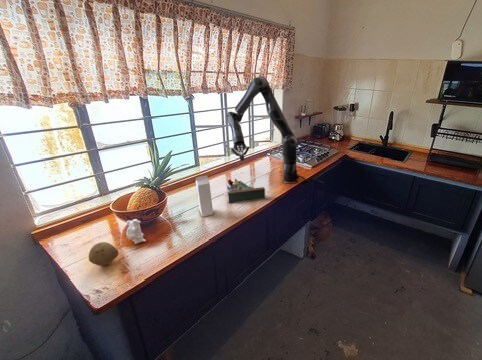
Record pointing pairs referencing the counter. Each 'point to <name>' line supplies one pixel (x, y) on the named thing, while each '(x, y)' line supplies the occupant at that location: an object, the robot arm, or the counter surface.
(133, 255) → the counter surface
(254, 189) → the shoe rail
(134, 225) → the koala figurine
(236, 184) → the sneaker
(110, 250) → the brown rounded lump
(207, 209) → the milk
